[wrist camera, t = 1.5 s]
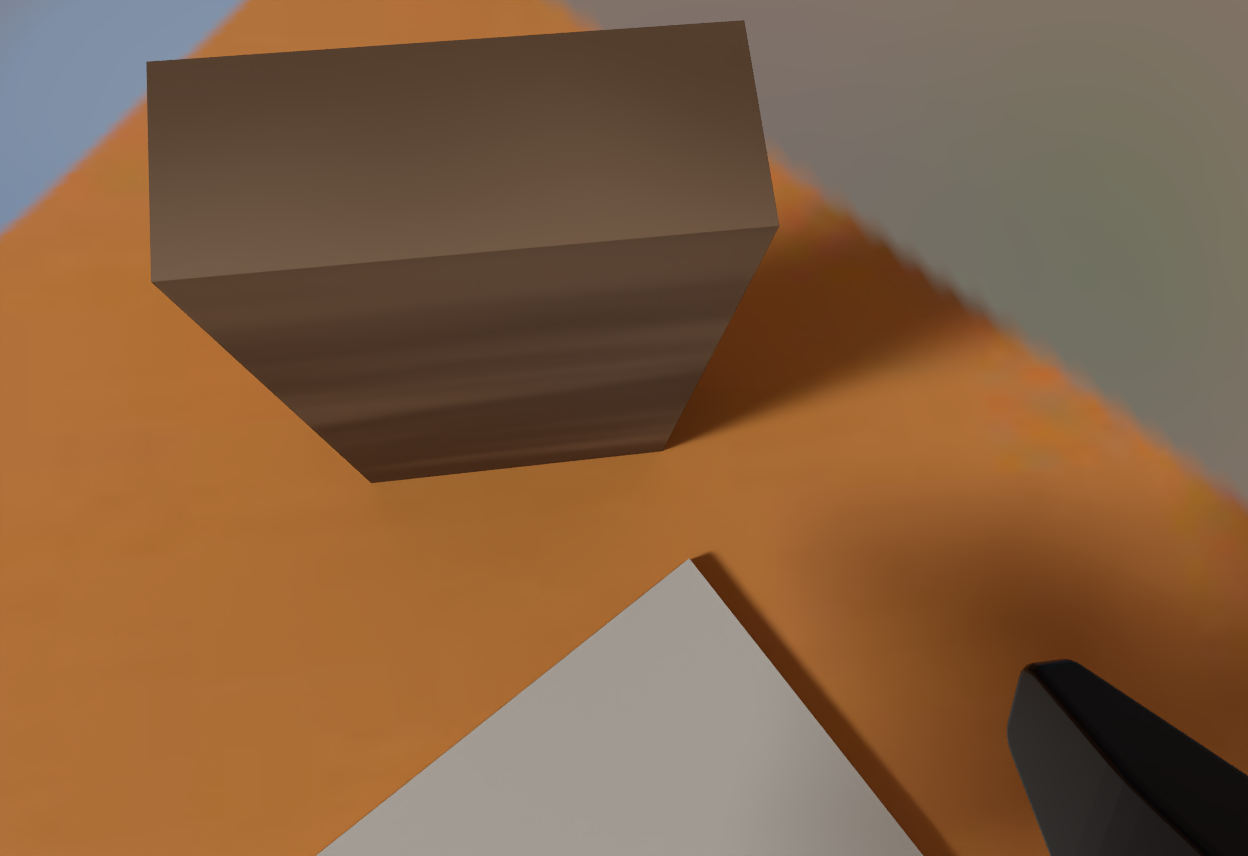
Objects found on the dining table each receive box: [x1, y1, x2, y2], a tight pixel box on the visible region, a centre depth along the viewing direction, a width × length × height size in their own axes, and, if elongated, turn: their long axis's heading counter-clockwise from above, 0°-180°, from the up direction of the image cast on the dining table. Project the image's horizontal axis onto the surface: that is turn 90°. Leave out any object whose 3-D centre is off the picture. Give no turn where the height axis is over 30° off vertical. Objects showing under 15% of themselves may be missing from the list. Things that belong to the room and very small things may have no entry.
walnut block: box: [147, 21, 779, 483], centre depth 16 cm, size 2×6×12 cm, turn 97°
